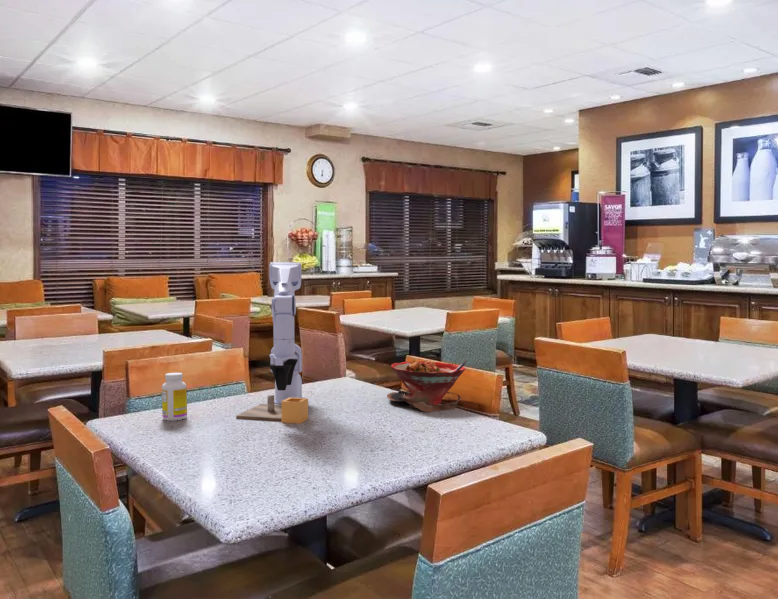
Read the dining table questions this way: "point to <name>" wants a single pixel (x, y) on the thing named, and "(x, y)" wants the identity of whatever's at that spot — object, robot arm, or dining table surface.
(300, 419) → the orange hollow cube
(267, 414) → the wooden board with peg
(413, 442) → the dining table surface
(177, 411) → the supplement bottle
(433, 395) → the stew
